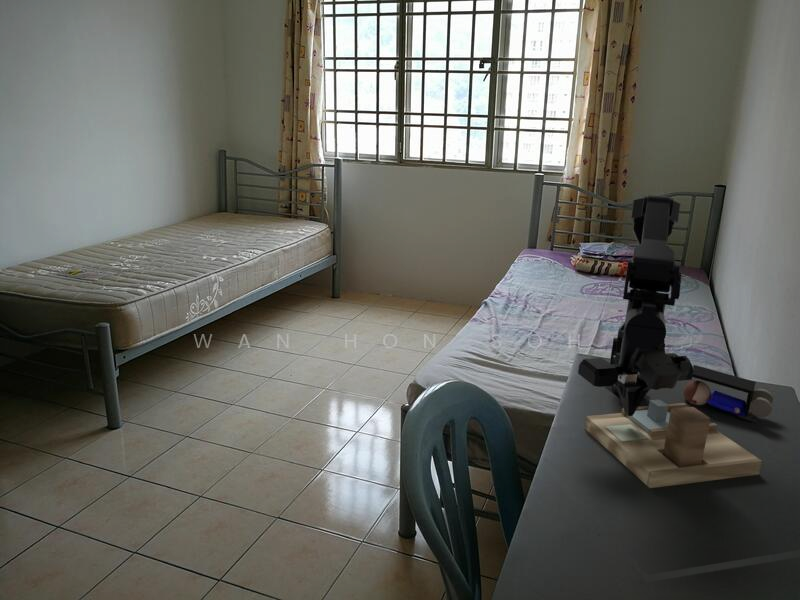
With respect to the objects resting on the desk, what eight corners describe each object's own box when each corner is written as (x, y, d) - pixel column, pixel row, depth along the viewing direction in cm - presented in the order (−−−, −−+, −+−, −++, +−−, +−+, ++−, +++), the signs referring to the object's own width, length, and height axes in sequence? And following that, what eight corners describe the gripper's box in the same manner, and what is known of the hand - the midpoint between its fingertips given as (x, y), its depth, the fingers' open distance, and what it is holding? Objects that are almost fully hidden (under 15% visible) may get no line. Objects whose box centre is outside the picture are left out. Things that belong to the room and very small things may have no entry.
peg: (661, 464, 103) (671, 408, 100) (682, 462, 104) (692, 406, 101) (677, 478, 100) (688, 420, 97) (699, 475, 101) (710, 418, 98)
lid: (625, 415, 114) (628, 396, 113) (662, 412, 116) (665, 393, 115) (648, 433, 108) (651, 413, 107) (686, 429, 110) (690, 409, 109)
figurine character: (765, 422, 124) (683, 393, 132) (778, 387, 122) (694, 360, 129) (762, 435, 119) (677, 405, 126) (776, 399, 116) (688, 370, 123)
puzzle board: (583, 431, 114) (586, 411, 113) (679, 422, 119) (683, 402, 118) (649, 491, 97) (653, 468, 96) (758, 477, 102) (763, 455, 101)
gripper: (620, 350, 96) (606, 443, 100) (725, 343, 101) (707, 433, 105) (582, 326, 106) (571, 411, 111) (678, 321, 111) (664, 403, 115)
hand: (628, 415), depth 110 cm, fingers closed
